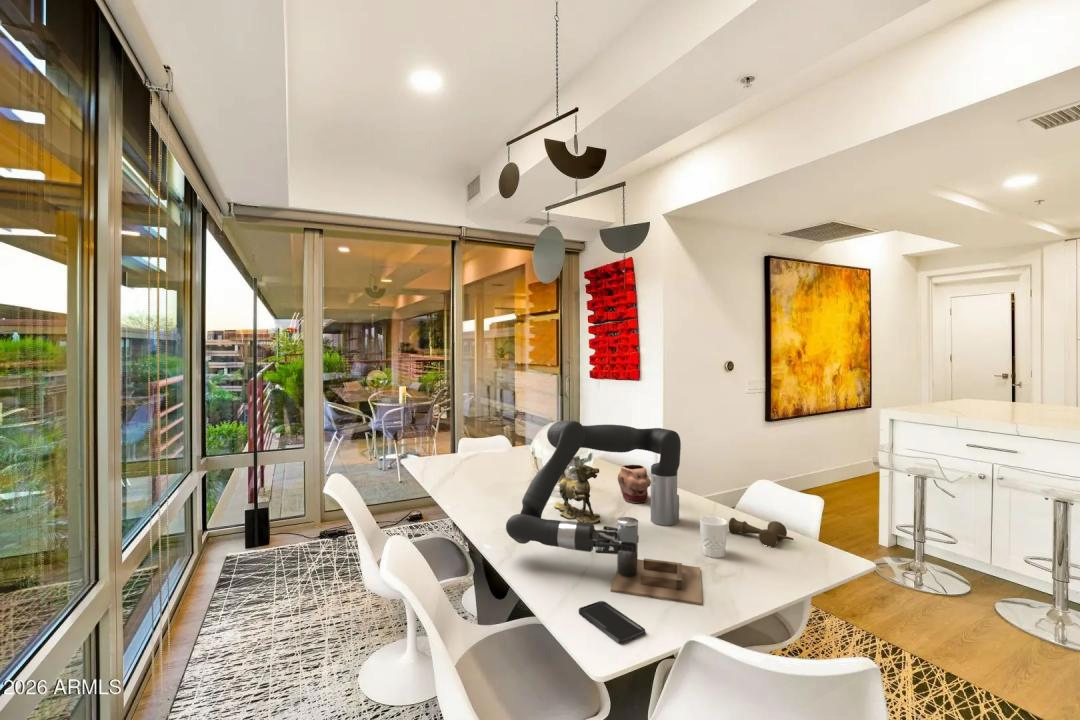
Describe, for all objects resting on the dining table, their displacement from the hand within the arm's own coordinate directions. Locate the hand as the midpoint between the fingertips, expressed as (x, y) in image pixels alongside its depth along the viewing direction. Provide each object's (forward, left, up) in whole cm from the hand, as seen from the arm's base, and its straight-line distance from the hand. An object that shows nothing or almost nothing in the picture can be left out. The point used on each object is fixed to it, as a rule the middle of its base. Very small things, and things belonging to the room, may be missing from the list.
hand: (637, 543), depth 129 cm
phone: (+19, +15, -10) cm, 26 cm away
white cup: (-31, -1, -9) cm, 32 cm away
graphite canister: (+2, -2, -8) cm, 8 cm away
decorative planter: (-44, -55, -9) cm, 71 cm away
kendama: (-53, -2, -10) cm, 54 cm away
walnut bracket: (-5, +5, -9) cm, 11 cm away
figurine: (-13, -51, -9) cm, 53 cm away
